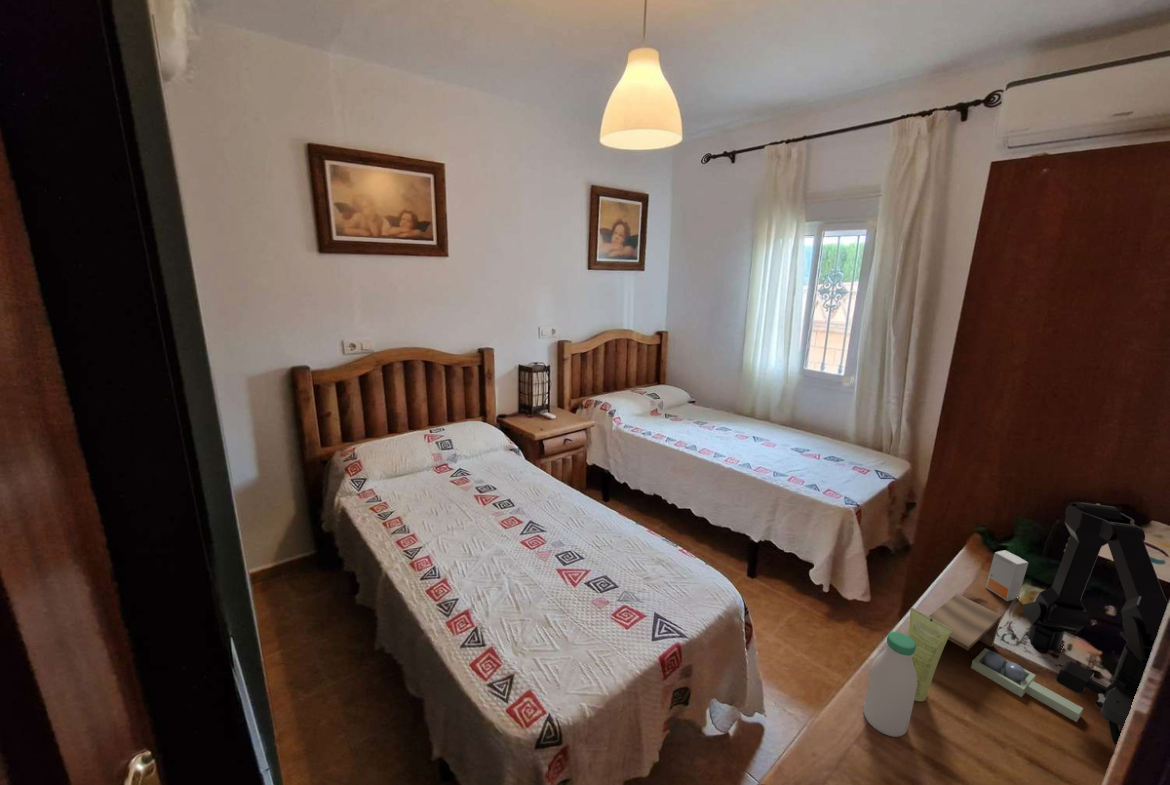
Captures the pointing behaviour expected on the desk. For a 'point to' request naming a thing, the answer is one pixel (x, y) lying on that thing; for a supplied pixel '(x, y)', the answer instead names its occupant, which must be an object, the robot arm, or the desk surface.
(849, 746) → the desk surface
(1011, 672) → the grey rounded lump
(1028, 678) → the tray
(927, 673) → the tube
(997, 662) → the grey rounded lump
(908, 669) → the milk bottle
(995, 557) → the skincare box
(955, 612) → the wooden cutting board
